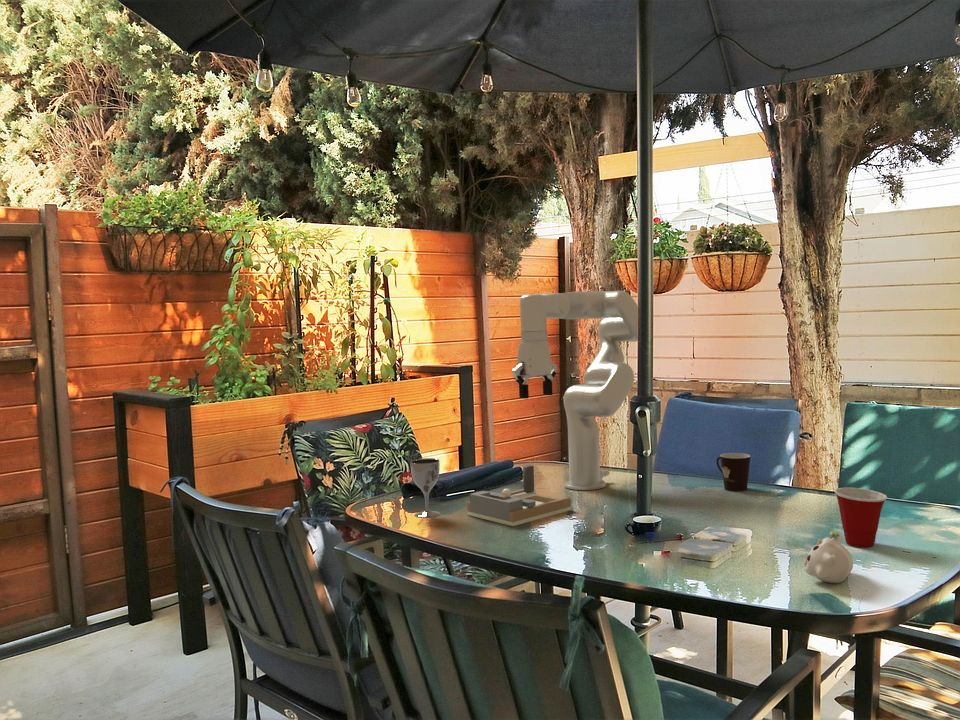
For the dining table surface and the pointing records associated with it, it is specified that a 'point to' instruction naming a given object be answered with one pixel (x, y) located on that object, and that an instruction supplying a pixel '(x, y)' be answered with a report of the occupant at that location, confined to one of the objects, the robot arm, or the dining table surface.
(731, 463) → the coffee mug
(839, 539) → the white bulbous lump
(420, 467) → the wine glass
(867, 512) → the plastic cup
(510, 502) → the foosball lane
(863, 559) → the dining table surface
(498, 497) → the kicker rod
